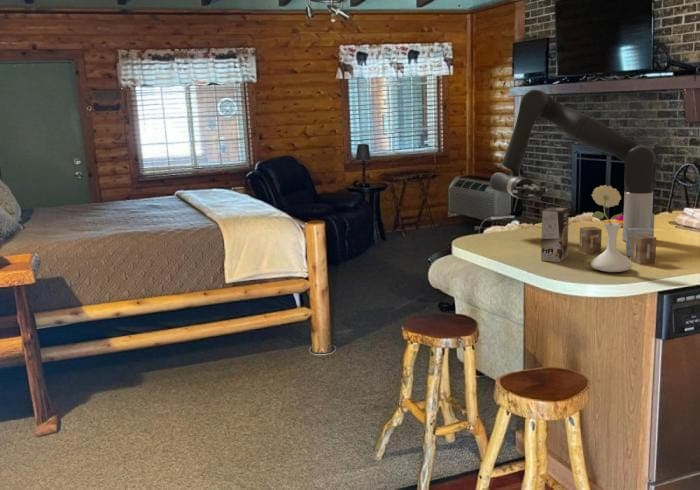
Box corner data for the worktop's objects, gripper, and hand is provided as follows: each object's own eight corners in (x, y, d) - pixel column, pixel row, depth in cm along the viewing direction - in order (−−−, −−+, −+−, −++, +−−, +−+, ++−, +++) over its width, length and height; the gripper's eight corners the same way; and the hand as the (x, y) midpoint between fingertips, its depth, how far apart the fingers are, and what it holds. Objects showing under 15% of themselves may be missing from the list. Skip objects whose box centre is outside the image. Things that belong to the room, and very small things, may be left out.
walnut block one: (645, 260, 208) (647, 234, 206) (655, 263, 203) (656, 237, 201) (630, 261, 207) (631, 235, 206) (639, 264, 202) (640, 238, 201)
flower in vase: (640, 270, 195) (644, 185, 190) (616, 277, 189) (620, 189, 184) (600, 263, 206) (603, 182, 201) (577, 269, 199) (580, 185, 195)
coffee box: (560, 262, 209) (562, 211, 206) (540, 260, 212) (541, 210, 209) (568, 256, 216) (569, 207, 213) (548, 255, 220) (549, 206, 216)
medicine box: (651, 254, 215) (653, 227, 214) (652, 257, 211) (654, 230, 209) (625, 253, 218) (626, 227, 216) (625, 256, 214) (627, 229, 212)
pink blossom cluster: (634, 226, 265) (634, 216, 264) (617, 228, 263) (617, 217, 262) (620, 223, 273) (620, 213, 272) (603, 225, 270) (604, 215, 270)
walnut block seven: (593, 250, 225) (594, 226, 223) (601, 253, 219) (602, 229, 218) (578, 251, 224) (579, 227, 222) (586, 254, 219) (586, 230, 217)
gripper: (502, 178, 237) (521, 183, 220) (538, 176, 239) (559, 181, 222) (502, 199, 239) (521, 205, 222) (538, 197, 240) (559, 203, 223)
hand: (540, 193), depth 222 cm, fingers closed
